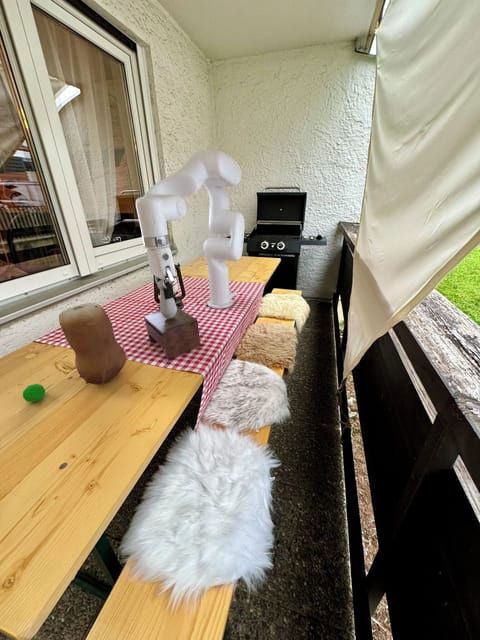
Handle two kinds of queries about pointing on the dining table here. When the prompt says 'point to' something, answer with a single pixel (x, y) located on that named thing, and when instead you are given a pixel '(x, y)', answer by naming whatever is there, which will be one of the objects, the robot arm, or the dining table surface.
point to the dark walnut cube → (173, 332)
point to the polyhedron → (33, 392)
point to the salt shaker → (166, 303)
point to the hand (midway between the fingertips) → (166, 295)
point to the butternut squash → (92, 342)
